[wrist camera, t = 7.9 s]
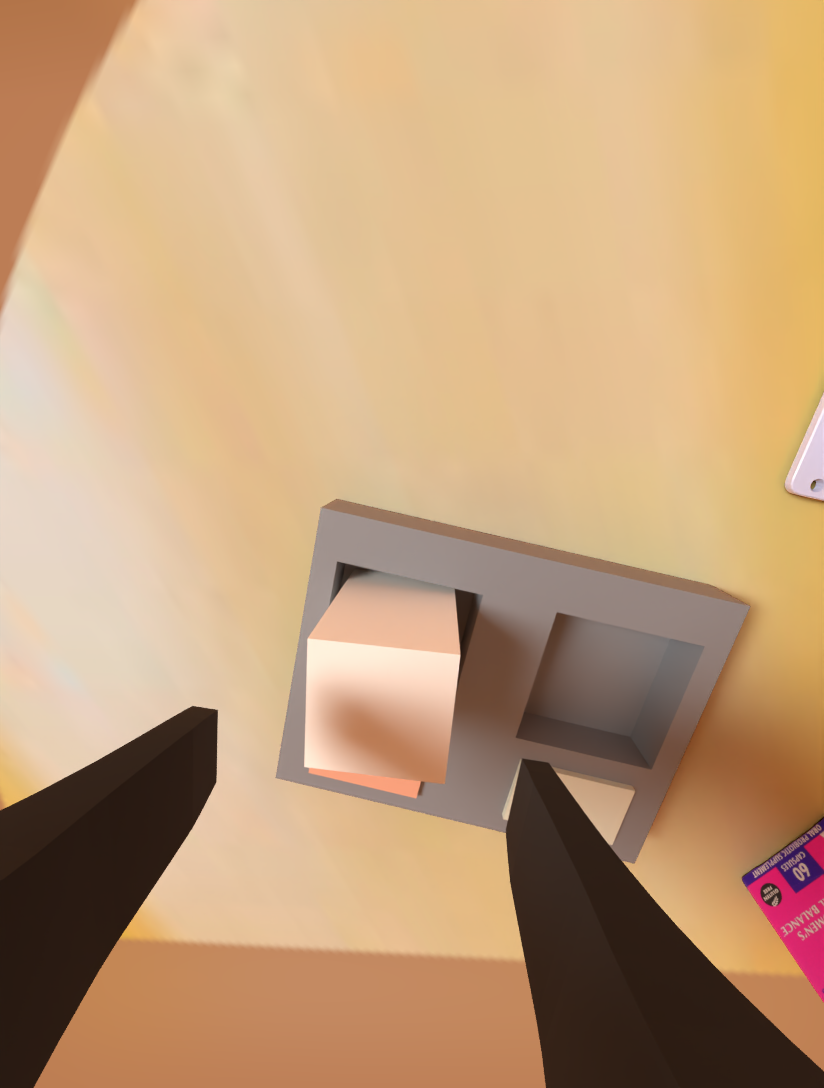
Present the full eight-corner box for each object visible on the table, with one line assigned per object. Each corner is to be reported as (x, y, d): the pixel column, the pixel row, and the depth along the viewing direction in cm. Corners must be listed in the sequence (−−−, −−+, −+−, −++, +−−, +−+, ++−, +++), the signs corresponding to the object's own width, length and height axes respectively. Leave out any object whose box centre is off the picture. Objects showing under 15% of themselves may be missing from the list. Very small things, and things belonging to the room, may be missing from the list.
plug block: (453, 578, 19) (460, 654, 12) (443, 668, 20) (444, 784, 13) (354, 568, 19) (307, 638, 12) (350, 658, 20) (303, 767, 14)
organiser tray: (710, 584, 19) (756, 609, 16) (613, 816, 22) (637, 869, 19) (336, 499, 19) (318, 508, 16) (293, 741, 22) (273, 782, 19)
